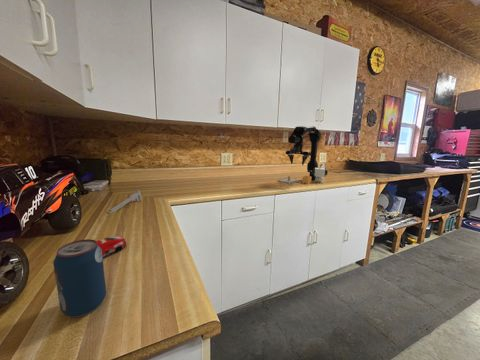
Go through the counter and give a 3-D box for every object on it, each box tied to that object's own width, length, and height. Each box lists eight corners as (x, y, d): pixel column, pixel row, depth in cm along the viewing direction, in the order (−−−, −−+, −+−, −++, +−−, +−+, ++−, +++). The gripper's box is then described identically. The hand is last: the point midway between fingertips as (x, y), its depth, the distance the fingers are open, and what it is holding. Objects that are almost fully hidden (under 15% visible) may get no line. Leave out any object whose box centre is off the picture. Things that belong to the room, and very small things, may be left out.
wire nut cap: (305, 181, 168) (305, 175, 167) (311, 182, 165) (311, 175, 164) (302, 182, 165) (302, 175, 164) (308, 183, 161) (308, 176, 160)
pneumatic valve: (326, 182, 168) (328, 168, 165) (311, 181, 171) (312, 167, 168) (325, 180, 174) (326, 166, 170) (310, 179, 176) (312, 166, 173)
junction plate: (286, 179, 177) (286, 174, 176) (300, 181, 168) (300, 176, 167) (277, 181, 168) (277, 175, 167) (291, 183, 159) (291, 178, 158)
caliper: (139, 200, 106) (138, 188, 105) (141, 200, 106) (140, 188, 105) (107, 214, 86) (106, 199, 85) (110, 214, 86) (108, 199, 85)
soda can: (114, 292, 43) (109, 238, 40) (91, 321, 36) (83, 257, 34) (80, 291, 43) (73, 237, 40) (50, 320, 36) (39, 257, 34)
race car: (77, 272, 49) (75, 257, 48) (66, 265, 51) (64, 251, 51) (129, 248, 60) (128, 235, 60) (118, 243, 63) (117, 231, 62)
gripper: (282, 143, 156) (280, 163, 159) (304, 143, 143) (302, 166, 146) (290, 143, 164) (288, 163, 167) (312, 144, 151) (310, 165, 153)
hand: (297, 164), depth 158 cm, fingers open, 9 cm apart
